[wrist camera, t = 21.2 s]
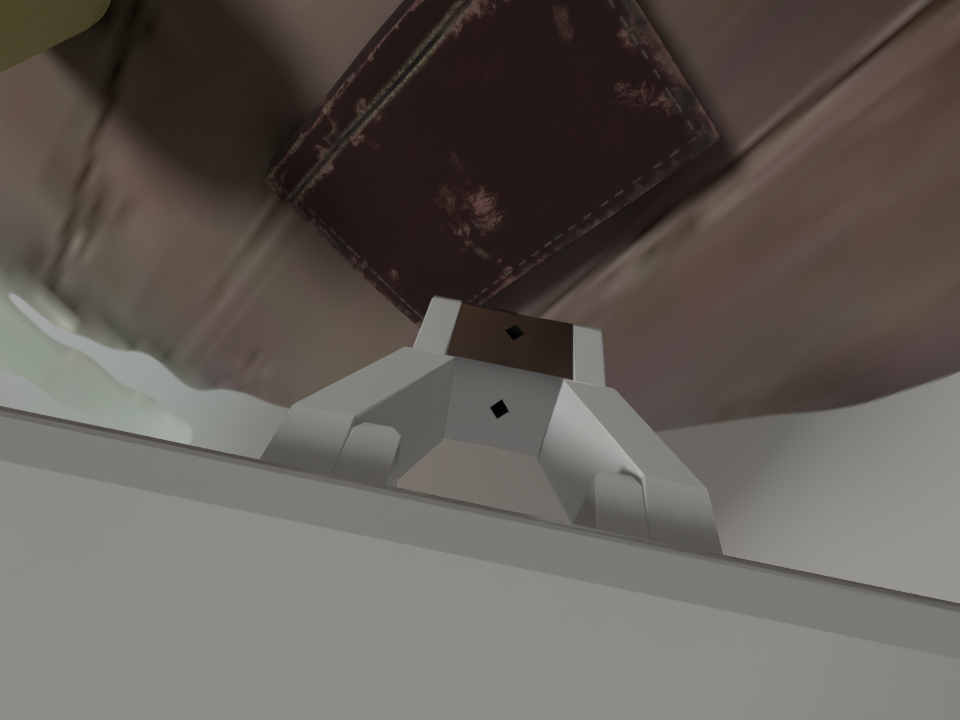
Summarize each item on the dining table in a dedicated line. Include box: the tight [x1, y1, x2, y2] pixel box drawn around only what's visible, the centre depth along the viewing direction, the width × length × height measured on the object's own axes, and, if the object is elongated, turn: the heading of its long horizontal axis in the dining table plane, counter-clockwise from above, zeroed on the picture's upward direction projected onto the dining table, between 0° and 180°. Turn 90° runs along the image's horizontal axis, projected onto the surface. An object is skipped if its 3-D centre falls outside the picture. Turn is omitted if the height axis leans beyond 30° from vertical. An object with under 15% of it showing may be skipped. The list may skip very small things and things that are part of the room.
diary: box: [264, 0, 722, 328], centre depth 37 cm, size 19×25×5 cm
